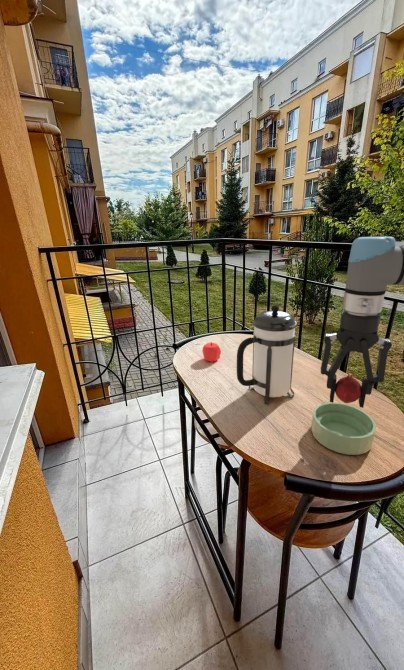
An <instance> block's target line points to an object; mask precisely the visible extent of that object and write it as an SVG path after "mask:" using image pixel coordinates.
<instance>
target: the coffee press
mask: <svg viewBox="0 0 404 670" xmlns="http://www.w3.org/2000/svg"><path fill="white" fill-rule="evenodd" d="M297 324H298V323H297V321H296V319H295V316H293V315H292V314H291V313H288V312H286V311H282V310H280V307H279V306H278V305H277V304H274V305H272V306H271V308H270V310H267V311H262V312H260V313H258V314H257V315H256V316H255V318H254V319H253V321H252V325H253V332H252V333H253V335H252V336H251V337H248V338H245V339H244V340H242V341H241V342H240V344H239V345H238V348H237V351H236V379H237V381H238V383H239V384H240V385H242V386H244V387H248V389H249V390H250V391H253V390H255V392H256V393H257V394H259V395H261V396H263V397H264V401H263V403H264V404H266V405H269V404H270V401H271V400H270V399H271V398H280V397H283V396H286V395H288V397H289V398H294V397H295V391H294V390H293V389H292V381H293V368H294V356H295V345H296V343H295V341H296V333H295V332H296V327H297ZM250 345H252V375H251V376H252V377H251V379H245V378H244V354H245V353H244V352H245V350H246V348H247V347H248V346H250ZM290 392H291V393H292V394H291V393H290Z"/></svg>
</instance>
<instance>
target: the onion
mask: <svg viewBox="0 0 404 670" xmlns="http://www.w3.org/2000/svg"><path fill="white" fill-rule="evenodd" d="M353 376H354V374H353V373H351V372H349V373H348V374H347V375H346V376H344V377H341V378H339V379H337V381H336V388H335V396H336V397H337V398H338V399H339V400H340V401H341V402H342V403H343V404H351V403H354V402H356V401H358V400H359V398H360V396H361V392H362V389H361V385H362V384H360V382H359V381H358V380H357V379H356V378H355V377H353Z"/></svg>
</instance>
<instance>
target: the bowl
mask: <svg viewBox="0 0 404 670" xmlns="http://www.w3.org/2000/svg"><path fill="white" fill-rule="evenodd" d="M313 409H314V410H313V412H312V420H311V430H310V431H311V433H312V435H313V438H315V440H316V441H317V442H318V443H319V444H320V445H322V446H323V447H325V448H326V449H329V450H331V451H334V452H336V453H339V454H343V455H348V456H351V455H352V456H359V455H363V454H366V453H367V452H368V451H370V450H371V449H372V447H373V445H374V439H375V435H376V430H377V425H376V422H375V420H374V419H373V418H372V416H371V415H370V414H368V413H367V412H366V411H364V410H362V409H360V408H358V407H356V406H354V405H350V404H349V403H344V402H333V403H332V402H325V403H321V404H319V405H317V406H316V407H315V408H313Z"/></svg>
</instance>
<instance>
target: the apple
mask: <svg viewBox="0 0 404 670" xmlns="http://www.w3.org/2000/svg"><path fill="white" fill-rule="evenodd" d="M201 349H202V350H201V353H202V356H203V359H204V360H205V361H207V362H209V361H210V363H214V362H216V361H218V360H219V359H220V358H221V354H222V350H221V348H220V345H218V343H216V342H212V341H210V342H207V343H205V344H204V345H203V347H202V348H201ZM213 361H214V362H213Z"/></svg>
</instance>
